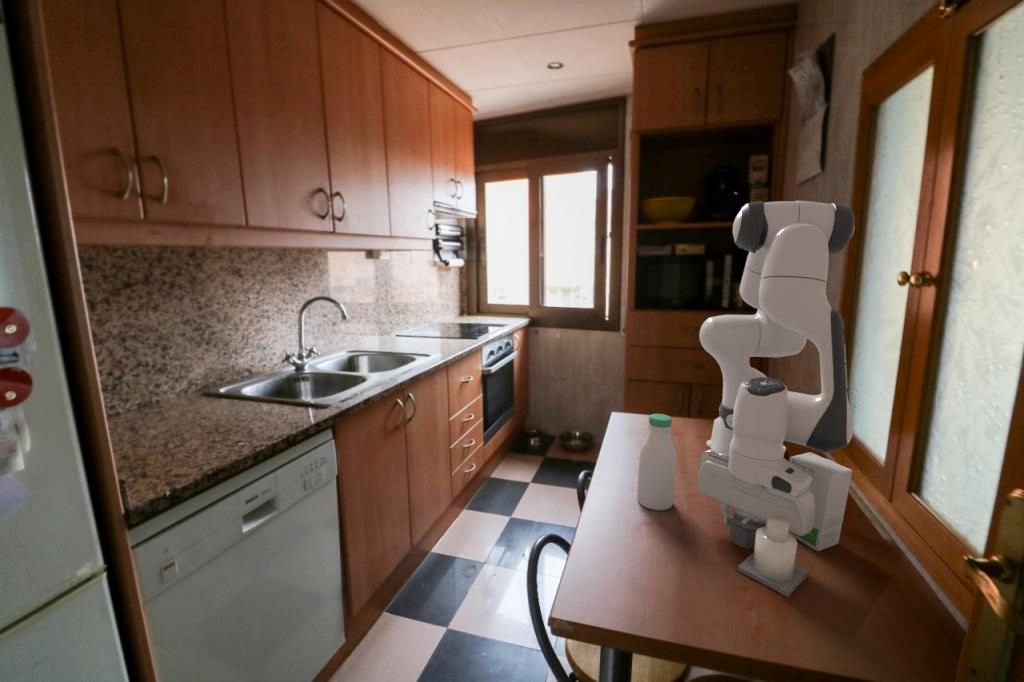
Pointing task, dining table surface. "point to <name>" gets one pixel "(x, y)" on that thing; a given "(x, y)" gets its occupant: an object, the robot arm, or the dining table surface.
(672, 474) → the milk bottle
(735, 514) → the cap
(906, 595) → the dining table surface
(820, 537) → the skincare box
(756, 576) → the jar
